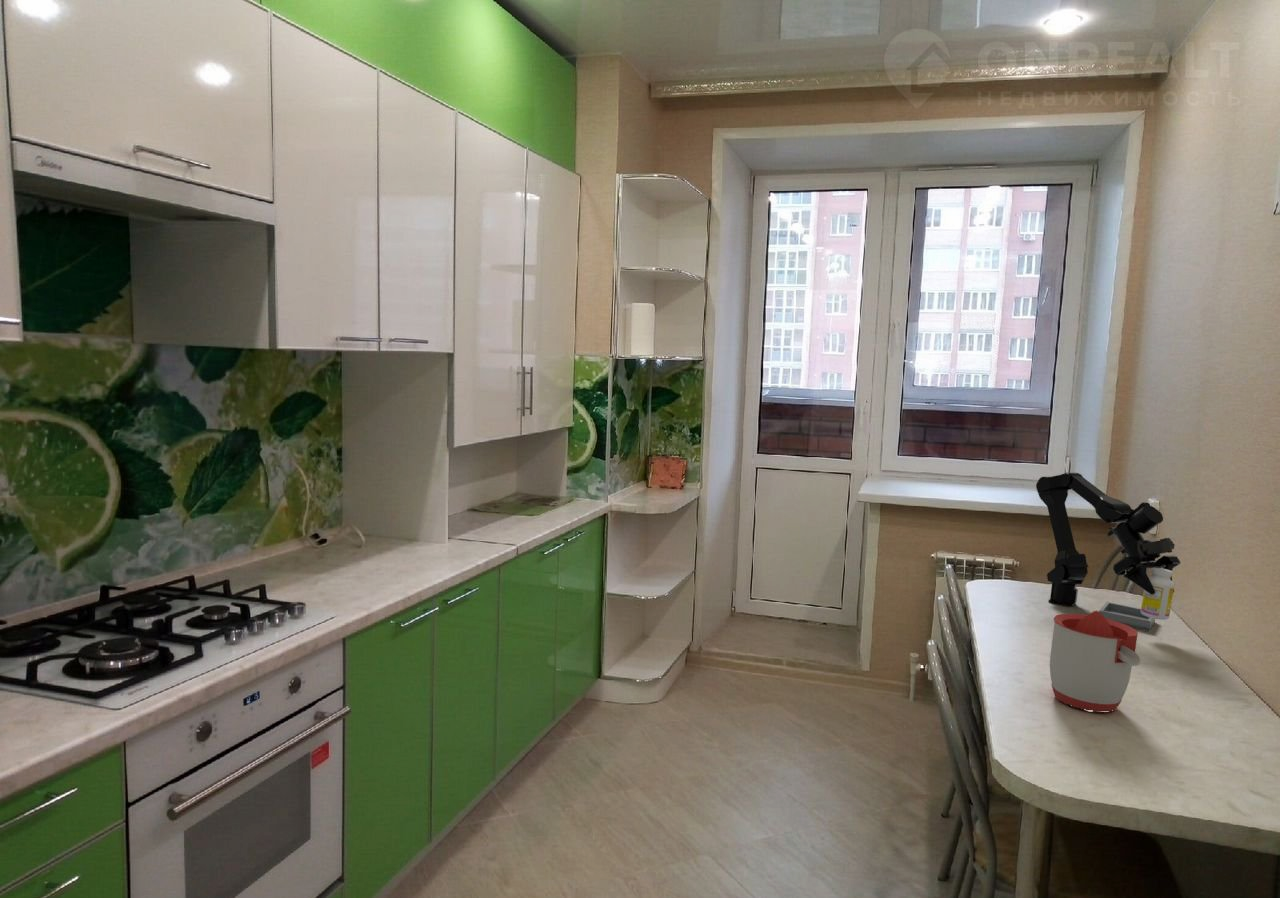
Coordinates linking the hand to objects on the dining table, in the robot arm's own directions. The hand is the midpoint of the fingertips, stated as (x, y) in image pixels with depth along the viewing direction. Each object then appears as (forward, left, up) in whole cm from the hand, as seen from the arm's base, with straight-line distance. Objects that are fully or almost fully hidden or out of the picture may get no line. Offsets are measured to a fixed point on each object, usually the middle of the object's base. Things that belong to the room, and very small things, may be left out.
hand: (1163, 593), depth 227 cm
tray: (-9, +13, -13) cm, 20 cm away
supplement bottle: (-1, +1, -7) cm, 7 cm away
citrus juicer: (-6, -65, -13) cm, 67 cm away
